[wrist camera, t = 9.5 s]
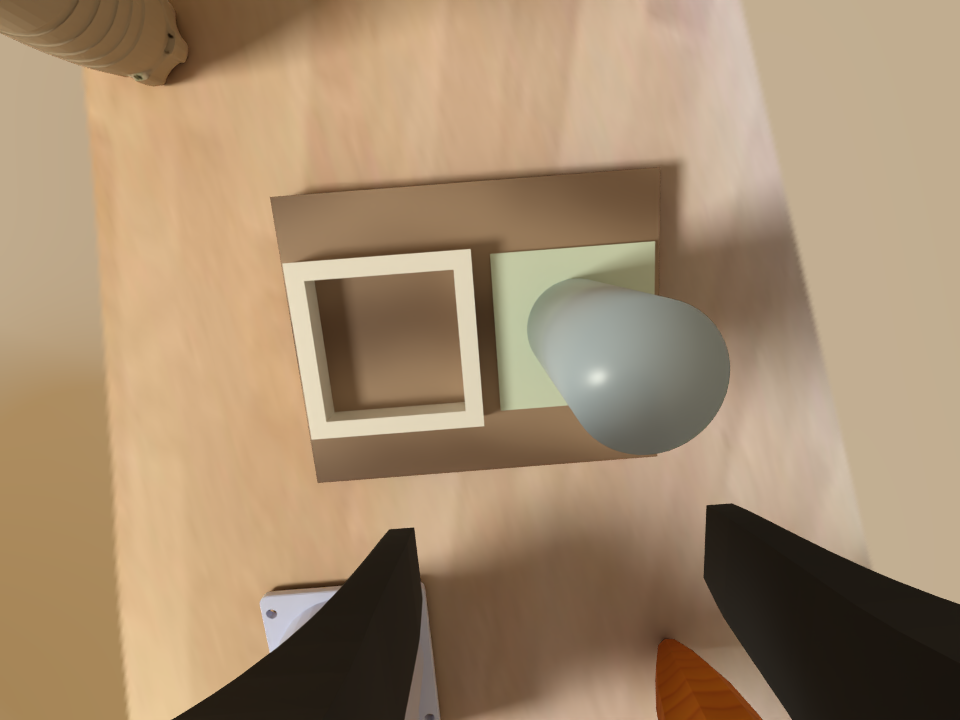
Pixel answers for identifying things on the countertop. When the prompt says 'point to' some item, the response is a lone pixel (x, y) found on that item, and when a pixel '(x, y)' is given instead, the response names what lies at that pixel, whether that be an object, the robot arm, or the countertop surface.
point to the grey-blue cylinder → (630, 363)
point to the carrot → (694, 688)
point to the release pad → (521, 286)
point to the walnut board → (447, 309)
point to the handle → (101, 34)
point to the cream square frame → (314, 356)
